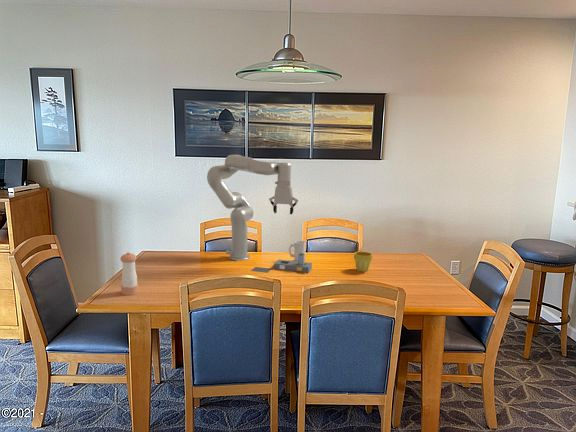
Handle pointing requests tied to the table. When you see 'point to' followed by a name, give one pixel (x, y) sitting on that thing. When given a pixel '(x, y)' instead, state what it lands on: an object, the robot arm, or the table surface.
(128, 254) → the salt shaker
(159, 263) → the table surface
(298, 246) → the mug
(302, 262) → the plug
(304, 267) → the socket strip
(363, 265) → the plant pot
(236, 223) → the robot arm
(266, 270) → the mat
